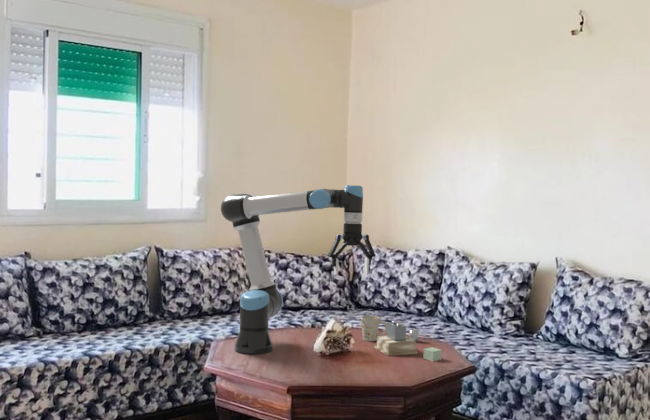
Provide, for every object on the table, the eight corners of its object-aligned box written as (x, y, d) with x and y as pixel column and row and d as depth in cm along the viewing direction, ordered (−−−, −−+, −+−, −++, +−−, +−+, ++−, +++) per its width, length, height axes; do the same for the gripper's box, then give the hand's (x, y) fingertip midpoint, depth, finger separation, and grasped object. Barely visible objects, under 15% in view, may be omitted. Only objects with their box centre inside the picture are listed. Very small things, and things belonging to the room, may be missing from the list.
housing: (394, 341, 271) (395, 324, 270) (386, 336, 278) (387, 320, 278) (405, 340, 272) (406, 324, 272) (397, 336, 280) (397, 320, 279)
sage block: (423, 358, 265) (423, 348, 264) (431, 356, 268) (432, 347, 268) (432, 361, 261) (433, 351, 261) (441, 359, 264) (441, 349, 264)
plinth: (374, 347, 280) (374, 335, 279) (403, 345, 284) (403, 334, 284) (387, 355, 267) (388, 343, 266) (417, 353, 271) (418, 341, 271)
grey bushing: (407, 340, 294) (407, 329, 294) (415, 340, 295) (415, 329, 295) (411, 342, 290) (412, 331, 290) (419, 342, 291) (420, 331, 291)
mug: (357, 337, 296) (358, 315, 296) (383, 336, 300) (384, 314, 299) (364, 342, 288) (364, 319, 288) (390, 341, 292) (391, 318, 291)
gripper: (327, 223, 264) (325, 276, 265) (384, 223, 272) (382, 274, 273) (321, 221, 271) (319, 273, 272) (376, 222, 279) (375, 272, 280)
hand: (351, 274), depth 272 cm, fingers open, 13 cm apart
